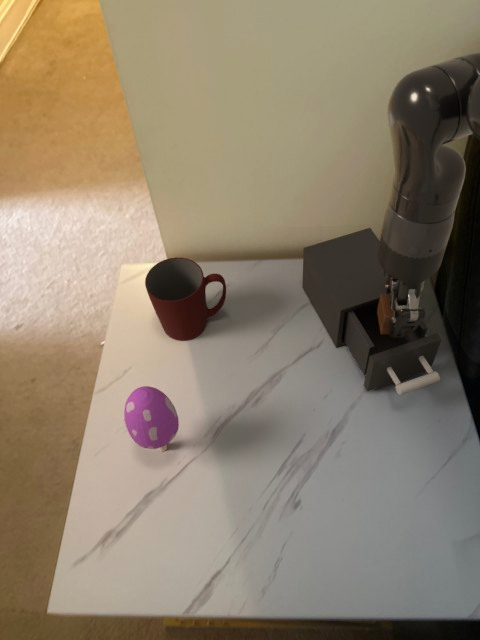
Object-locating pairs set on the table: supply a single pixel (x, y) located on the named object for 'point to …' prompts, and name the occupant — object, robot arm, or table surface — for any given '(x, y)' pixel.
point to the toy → (150, 418)
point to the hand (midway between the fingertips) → (393, 321)
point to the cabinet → (342, 278)
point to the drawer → (389, 351)
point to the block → (385, 313)
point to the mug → (181, 297)
